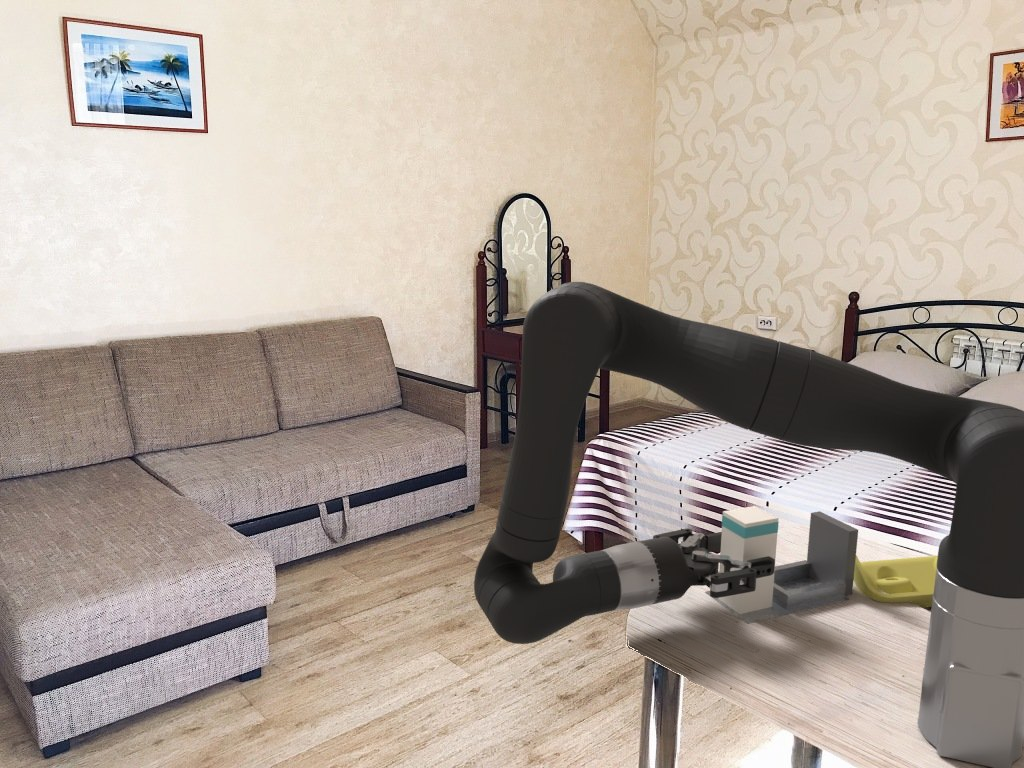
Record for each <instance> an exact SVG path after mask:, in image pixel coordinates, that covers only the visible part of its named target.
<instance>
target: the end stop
mask: <svg viewBox="0 0 1024 768" xmlns="http://www.w3.org/2000/svg"><path fill="white" fill-rule="evenodd" d="M809 518H810V522H809V533H808V545H807V555H806V561H808V562H810V563H811V566H810V577H811V578H813V579H815V580H817V581H818V582H820V583H822V584H823V583H828V582H832V581H837V580H842V581H844V582H845V583H846V588H845V597H848V596H852V595H853V590H854V589H853V588H854V570H855V560H856V555H857V549H858V538H859V535H858V534H859V529H857V528H856V527H854V526H851V525H849V524H848V523H845V522H843V521H841V520H839V519H836V518H835V517H832V516H830V515H828V514H827V513H824V512H822V511H815V512H810V517H809Z"/></svg>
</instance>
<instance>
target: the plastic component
mask: <svg viewBox="0 0 1024 768" xmlns="http://www.w3.org/2000/svg"><path fill="white" fill-rule="evenodd" d="M937 558H938V555H929V556H928V555H927V556H917V557H905V558H894V559H883V560H882V559H881V560H880V559H879V560H872V561H871V560H869V561H860V560H859V557H858V556H857V554H856V560H855V570H854V580H853V583H855V585H856V588H857V589H858V590H859V592H861V594H863V595H864V596H865V597H867V598H869V599H870V600H873V601H876V602H881V603H912V604H915V605H916V606H918V607H920V608H922V609H923V608H932V600H933V593H934V585H935V577H936V568H937Z"/></svg>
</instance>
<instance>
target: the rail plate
mask: <svg viewBox="0 0 1024 768" xmlns="http://www.w3.org/2000/svg"><path fill="white" fill-rule="evenodd" d="M810 566H811V563H810V562H808V561H807V559H806V560H801V561H800V560H799V561H795V562H789V563H786V564H781V565H780V564H779V565H775V572H774V585H773V599H772V607H769V608H765V609H760V610H756V611H751V612H747V613H743V614H739V613H737V612H736V611H734V610H733V609H732V608H730V607H729V606H727V605H726V604H725V603H723V602H722V601H720V600H719V599H718V598H713V597H711V596H710V590H707V591H704V593H705V595H708V597H710V598H712V599H713V600H714V601H716V602H717V603H718V604H720V605H722V606H723V608H725V609H727V611H729V612H731V613H732V614H734V615H735V616H736V617H738V618H739V619H741V620H742V621H744V623H746V624H751V623H752V624H753V623H755V622H760V621H765V620H769V619H773V618H777V617H781V616H786V615H791V614H795V613H798V612H803V611H806V610H807V611H808V610H811V609H816V608H820V607H824V606H829V605H833V604H837V603H841V602H845V601H850V599H849V598H847V597H846V596H845V588H846V583H845V582H844V581H842V580H837V581H832V582H828V583H823V584H822V583H820V582H818V581H817V580H815V579H813V578H811V577H810Z"/></svg>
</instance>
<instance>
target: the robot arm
mask: <svg viewBox="0 0 1024 768" xmlns="http://www.w3.org/2000/svg"><path fill="white" fill-rule="evenodd" d="M522 324H523V325H522V336H521V340H522V342H521V364H520V365H521V367H520V369H521V371H520V393H519V402H518V403H519V404H518V413H517V422H516V427H515V435H514V438H513V439H514V440H513V444H512V449H511V454H510V459H509V463H508V466H507V467H508V469H507V472H506V477H505V481H504V486H503V489H502V494H501V495H502V496H501V500H500V505H499V510H498V513H497V514H498V515H497V518H496V519H497V520H496V525H495V530H494V532H493V534H492V535H491V537H490V539H489V541H488V543H487V544H486V547H485V549H484V551H483V553H482V555H481V557H480V560H479V561H478V564H477V566H476V570H475V574H474V581H473V584H474V585H473V589H474V590H473V591H474V596H475V600H476V602H477V604H478V605H479V607H480V609H481V610H482V612H483V613H484V615H485V617H486V618H487V620H488V622H489V623H490V625H491V626H492V628H493V630H494V632H495V634H497V635H498V637H500V638H501V640H502V639H503V640H504V641H506V642H508V643H510V644H511V643H512V644H517V645H528V644H533V643H537V642H540V641H542V640H544V639H546V638H548V637H550V636H551V635H554V634H556V633H557V632H559V631H561V630H562V629H565V628H566V627H568V626H571V624H573V623H575V622H578V620H581V619H582V618H584V617H589V616H595V615H600V614H605V613H609V612H614V611H621V610H622V611H623V610H632V609H637V608H643V607H646V606H652V605H656V604H659V603H664V602H665V603H666V602H671V601H674V600H679V599H681V598H682V597H684V596H685V594H686V593H687V591H688V590H689V589H690V588H691V587H695V586H696V587H699V586H701V587H702V586H706V587H707V588H709V591H710V596H711V597H710V596H709V597H710V598H712V597H713V598H720V597H726V596H731V595H737V594H742V593H748V592H753V591H755V589H756V578H761V577H766V576H770V575H772V574H773V573H774V568H775V566H776V559H775V560H774V559H773V558H772V557H770V556H767V557H762V558H757V559H752V560H748V561H738V560H732V559H731V557H730V556H727V555H720V554H714V553H712V552H718V551H721V535H722V531H718V532H713V533H708V534H707V533H706V534H704V533H702V532H696V533H693V529H691V528H682V529H677V530H672V531H669V532H664V533H658V534H654V535H652V536H653V537H652V538H649V539H644V540H638V541H633V542H628V543H623V544H617V545H613V546H611V547H608V548H605V549H602V550H597V551H591V552H585V553H580V554H579V553H578V554H575V555H571V556H567V557H564V558H563V559H561V560H560V561H558V562H557V564H556V565H555V567H554V569H553V573H552V582H549V583H541V582H540V580H538V578H537V577H536V575H535V574H534V573H533V572H534V571H533V568H534V567H533V566H534V564H536V563H541V562H542V563H543V562H544V561H546V560H548V559H549V558H551V557H552V556H553V554H554V553H555V551H556V548H557V547H558V546H557V545H558V543H559V539H560V535H561V531H562V527H563V524H564V523H563V522H564V519H565V514H566V510H567V505H568V499H569V496H570V489H571V481H572V472H573V460H574V459H573V458H574V447H575V440H576V435H577V431H578V427H579V421H580V420H581V419H580V418H581V415H582V412H583V409H584V405H585V403H586V401H587V399H588V395H589V393H590V390H591V388H592V386H593V383H594V381H595V380H596V376H597V375H598V372H599V370H605V371H610V372H615V373H617V374H618V373H619V374H623V375H628V376H632V377H635V378H639V379H642V380H645V381H649V382H651V383H652V384H653V383H654V384H657V385H659V386H661V387H663V388H665V389H667V390H669V391H671V392H673V393H674V394H676V395H677V396H679V397H681V398H683V399H685V400H686V401H687V402H690V403H691V404H693V405H694V406H697V408H700V409H701V410H703V411H705V412H707V413H708V414H710V415H711V416H714V417H716V418H717V419H720V420H722V421H724V422H726V423H729V424H730V425H733V426H736V427H739V428H741V429H744V430H749V431H750V432H754V433H756V434H757V433H758V434H759V435H763V436H767V437H770V438H772V439H773V438H774V439H775V440H779V441H781V442H786V443H790V444H794V445H799V446H802V447H803V446H804V447H808V448H809V447H811V448H817V449H827V450H828V449H829V450H838V451H839V450H844V451H859V452H868V453H876V454H880V455H884V456H887V457H888V456H889V457H891V458H894V459H897V460H900V461H903V462H906V463H909V464H912V465H914V466H917V467H920V468H922V469H925V470H927V471H929V472H932V473H934V474H936V475H939V476H941V477H943V478H945V479H947V480H949V481H952V482H953V483H955V484H956V485H955V486H956V488H955V495H954V503H953V511H952V517H951V523H950V529H949V534H947V535H946V536H944V537H943V538H942V539H941V541H940V543H939V545H938V551H937V556H938V558H937V568H936V577H935V585H934V593H933V600H932V607H930V608H931V609H930V615H929V616H930V617H929V626H928V634H927V639H926V640H927V643H926V651H925V658H924V664H923V665H924V667H923V674H922V675H923V676H922V681H921V683H922V684H921V692H920V700H919V701H920V702H919V709H918V717H917V727H918V729H919V732H920V733H921V735H922V736H923V738H925V740H926V741H927V742H928V743H930V744H931V745H932V746H933V747H935V749H936V754H937V755H938V756H940V757H944V758H948V759H952V760H958V761H963V762H967V763H972V764H976V765H980V766H984V767H985V766H986V767H990V768H1012V766H1013V765H1012V764H1013V763H1015V762H1016V761H1018V760H1019V758H1020V757H1021V756H1022V753H1023V747H1024V410H1022V409H1019V408H1017V407H1014V406H1011V405H1006V404H1003V403H997V402H990V401H985V400H980V399H975V398H974V399H973V398H969V397H963V396H957V395H953V394H948V393H943V392H938V391H932V390H927V389H923V388H920V387H915V386H911V385H909V384H905V383H902V382H899V381H896V380H893V379H890V378H888V377H886V376H883V375H881V374H879V373H876V372H873V371H871V370H868V369H866V368H863V367H860V366H857V365H855V364H851V363H848V362H846V361H843V360H840V359H837V358H834V357H831V356H828V355H826V354H822V353H819V352H816V351H814V350H811V349H807V348H804V347H800V346H797V345H793V344H790V343H787V342H783V341H780V340H779V341H778V340H776V339H774V338H773V339H772V338H770V337H769V338H768V337H765V336H761V335H757V334H752V333H749V332H748V333H747V332H743V331H740V330H737V329H733V328H727V327H724V326H721V325H716V324H710V323H704V322H701V321H700V322H699V321H695V320H691V319H686V318H682V317H679V316H674V315H671V314H669V313H665V312H663V311H660V310H658V309H655V308H652V307H650V306H647V305H645V304H642V303H639V302H637V301H636V300H635V301H634V300H632V299H630V298H627V297H625V296H622V295H620V294H618V293H615V292H613V291H611V290H609V289H606V288H604V287H601V286H599V285H597V284H593V283H590V282H585V281H569V282H565V283H561V284H560V285H557V286H555V287H553V288H552V289H551V290H549V291H547V292H546V293H544V294H543V295H541V296H540V297H539V298H538V299H536V300H535V301H534V303H533V304H532V305H531V306H530V308H529V309H528V311H527V313H526V315H525V318H524V320H523V323H522ZM680 538H682V542H681V543H679V540H680ZM720 563H722V564H723V565H724V573H722V572H719V569H720ZM731 568H741V570H735V571H730V569H731ZM740 584H742V585H740ZM713 598H712V599H713Z"/></svg>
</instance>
